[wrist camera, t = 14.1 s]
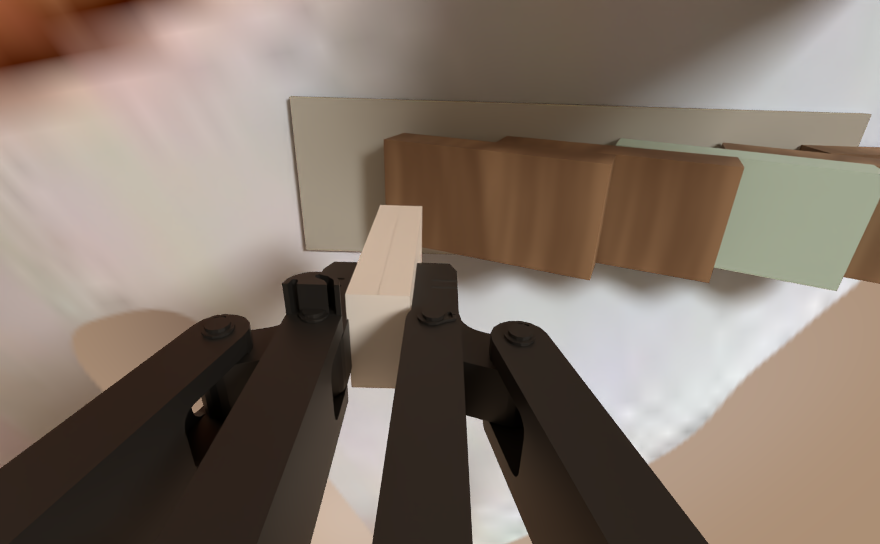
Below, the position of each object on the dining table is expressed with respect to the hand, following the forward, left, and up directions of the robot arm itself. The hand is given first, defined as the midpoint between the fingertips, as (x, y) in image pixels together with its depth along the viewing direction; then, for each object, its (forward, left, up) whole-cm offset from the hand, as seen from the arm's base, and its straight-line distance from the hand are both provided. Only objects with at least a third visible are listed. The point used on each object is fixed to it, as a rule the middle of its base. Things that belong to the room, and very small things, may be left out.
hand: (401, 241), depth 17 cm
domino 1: (-1, 0, -7) cm, 7 cm away
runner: (+8, 0, -8) cm, 11 cm away
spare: (+10, 0, -7) cm, 12 cm away
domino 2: (+4, 0, -7) cm, 8 cm away
